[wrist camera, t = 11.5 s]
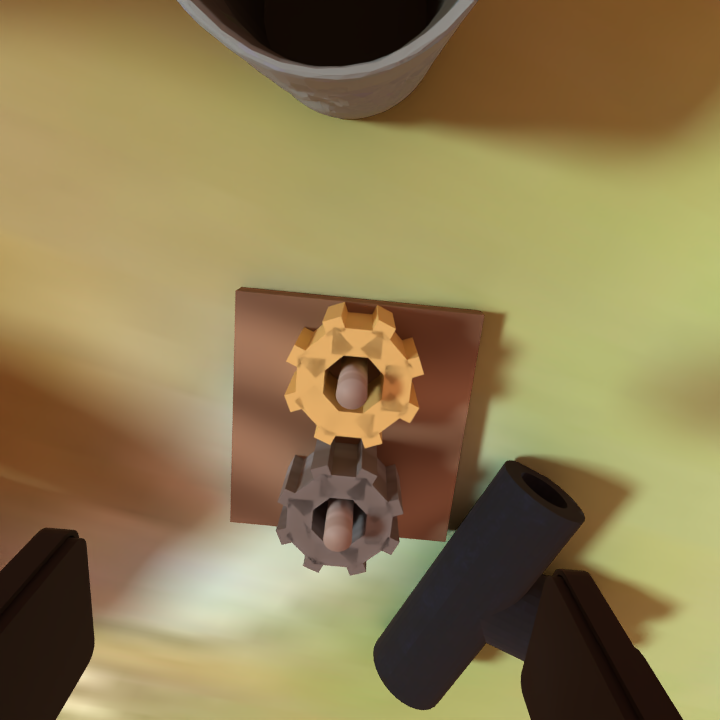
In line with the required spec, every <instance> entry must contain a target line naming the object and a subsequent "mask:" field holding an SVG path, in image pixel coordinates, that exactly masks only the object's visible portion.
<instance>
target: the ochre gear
mask: <svg viewBox="0 0 720 720" xmlns="http://www.w3.org/2000/svg"><path fill="white" fill-rule="evenodd" d="M322 323H323V325H321V326H320V327H319V328H318V329H316V330H315V331H314V332H313V331H311V330H309V329H307V328H305V327H304V328H303V330H302V332H301V334H300V335H299V337H298V339H297V341H296V343H295V345H294V347H293V349H292V351H291V353H290V355H289V356H288V358H287V360H286V362H288V363H290V364H292V365H294V366H296V367H297V371H295V372H294V375H293V377H292V379H291V381H290V384H289V386H288V388H287V390H286V392H285V395H284V396H285V399H286V402H287V404H288V407H289V409H290V412H293V411H296V410H300V409H302V410H303V411H304V412H305V413H306V414H307V415H308V416H309V418H310V419H311V420H312V421H313V422H314V423H315V424H316V425H317V426H316V430H315V434H314V438H317V439H319V440H321V441H323V442H325V443H327V444H329V445H331V443H332V441H333V439H334V438H335V436H343V437H354V438H361V439H362V442H363V445H364V447H365V448H368V447H372V446H375V445H379V444H382V431H383V430H384V429H386V428H387V427H388V426H390V425H391V424H392V423H394V422H395V421H397V420H398V419H399V418H400V419H402V420H404V421H406V422H408V423H410V422H411V421H412V419H413V418H414V416H415V414H416V413H417V411H418V409H419V405H418V401H417V397H416V393H415V389H414V385H413V382H412V378H413V377H417V376H420V375H424V373H423V369H422V366H421V362H420V359H419V356H418V353H417V350H416V347H415V343H414V340H413V337H412V338H408V339H405V340H401V338H400V337H399V336H398V335H397V333H396V332H395V330H396V327H395V322H394V318H393V313H392V312H390V311H388V310H386V309H384V308H382V307H380V306H378V305H377V306H376V308H375V310H374V312H373V314H363V313H353V312H348V310H347V307H346V304H345V302H342V303H339V304H336V305H332V306H329V307H328V309H327V311H326V314H325V316H324V319H323V321H322ZM342 356H354V357H365V358H369V359H370V360H371V361H372V362H373V363H374V365H375V366H376V367H377V368H378V369H379V371H380V375H379V376H378V377H377V378H375V379H374V380H373V381H371V382H370V383H369V384H368V385H367V400H366V402H365V403H364V405H363V406H361V407H360V408H357V409H346V408H344V407H342V406H341V405H340V404H339V403H338V401H337V399H336V390H337V384H338V380H337V379H336V378H335V376H334V375H333V374H332V373H331V372H330V371H329V367H330V366H331V365H332V364H334V363H335V362H336V361H337V360H339V359H340V358H341V357H342Z"/></svg>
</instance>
